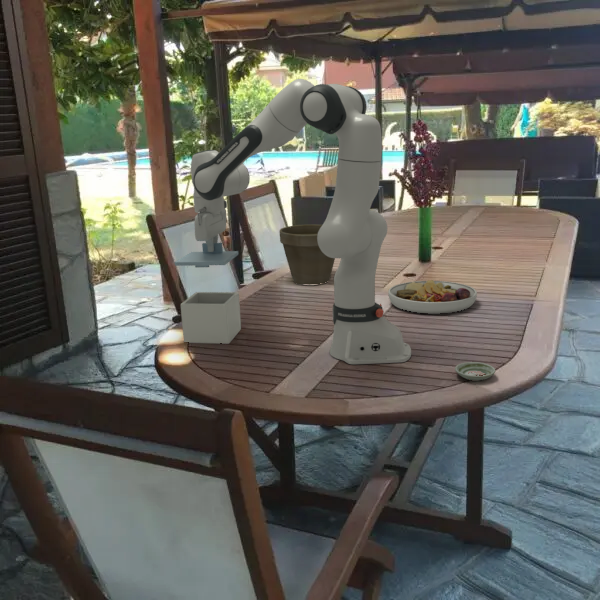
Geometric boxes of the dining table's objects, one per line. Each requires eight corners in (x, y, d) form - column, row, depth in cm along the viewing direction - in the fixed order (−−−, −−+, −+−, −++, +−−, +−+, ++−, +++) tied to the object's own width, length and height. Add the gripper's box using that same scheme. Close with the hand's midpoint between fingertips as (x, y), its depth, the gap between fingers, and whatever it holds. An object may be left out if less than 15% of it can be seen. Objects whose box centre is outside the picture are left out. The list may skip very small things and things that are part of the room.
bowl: (371, 307, 223) (370, 285, 221) (418, 289, 244) (418, 269, 242) (447, 322, 203) (448, 298, 201) (492, 301, 224) (493, 280, 222)
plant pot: (355, 281, 258) (354, 228, 252) (306, 292, 244) (304, 236, 238) (316, 271, 278) (315, 222, 272) (269, 281, 263) (267, 229, 258)
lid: (238, 257, 198) (237, 241, 196) (225, 268, 183) (223, 251, 182) (192, 258, 200) (190, 242, 199) (175, 269, 186) (173, 252, 185)
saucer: (468, 367, 166) (469, 358, 165) (502, 377, 159) (503, 367, 158) (446, 378, 159) (447, 369, 159) (481, 388, 153) (481, 379, 152)
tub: (241, 329, 203) (238, 292, 200) (228, 343, 190) (226, 304, 187) (198, 328, 206) (195, 292, 203) (183, 342, 193) (180, 304, 189)
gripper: (208, 209, 182) (212, 257, 186) (228, 201, 202) (231, 244, 205) (187, 210, 184) (191, 257, 187) (209, 201, 203) (212, 245, 206)
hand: (212, 250), depth 196 cm, fingers closed on lid
